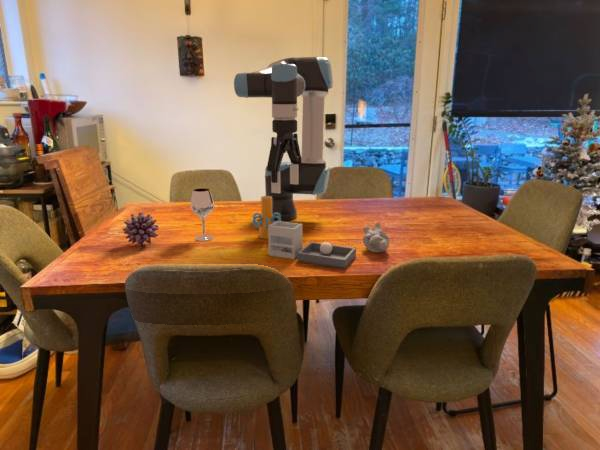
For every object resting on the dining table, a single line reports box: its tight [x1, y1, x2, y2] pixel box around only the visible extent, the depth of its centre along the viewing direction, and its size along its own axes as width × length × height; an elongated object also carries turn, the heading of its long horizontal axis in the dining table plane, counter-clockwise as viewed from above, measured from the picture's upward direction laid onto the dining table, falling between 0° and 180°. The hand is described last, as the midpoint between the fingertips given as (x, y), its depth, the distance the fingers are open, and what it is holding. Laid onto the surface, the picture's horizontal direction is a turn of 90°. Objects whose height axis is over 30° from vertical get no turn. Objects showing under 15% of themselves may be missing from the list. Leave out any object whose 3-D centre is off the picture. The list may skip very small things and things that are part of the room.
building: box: [267, 221, 303, 260], centre depth 140 cm, size 9×6×10 cm
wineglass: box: [190, 187, 215, 242], centre depth 154 cm, size 8×8×18 cm
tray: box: [296, 241, 357, 270], centre depth 136 cm, size 16×12×3 cm
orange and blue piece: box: [251, 195, 281, 240], centre depth 157 cm, size 12×10×15 cm
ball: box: [320, 241, 332, 255], centre depth 139 cm, size 4×4×4 cm
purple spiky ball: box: [122, 211, 160, 247], centre depth 147 cm, size 12×12×12 cm
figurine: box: [362, 221, 390, 254], centre depth 143 cm, size 8×10×12 cm
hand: (285, 188), depth 135 cm, fingers open, 13 cm apart
